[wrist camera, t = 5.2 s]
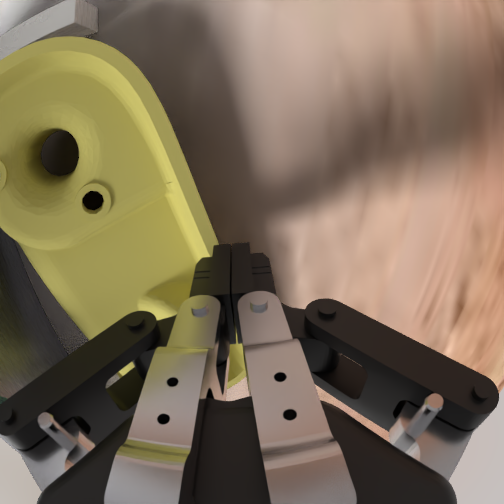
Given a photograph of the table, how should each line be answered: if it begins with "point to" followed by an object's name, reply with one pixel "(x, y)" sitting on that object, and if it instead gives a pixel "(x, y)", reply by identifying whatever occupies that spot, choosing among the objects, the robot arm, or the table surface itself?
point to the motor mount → (3, 246)
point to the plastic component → (100, 187)
